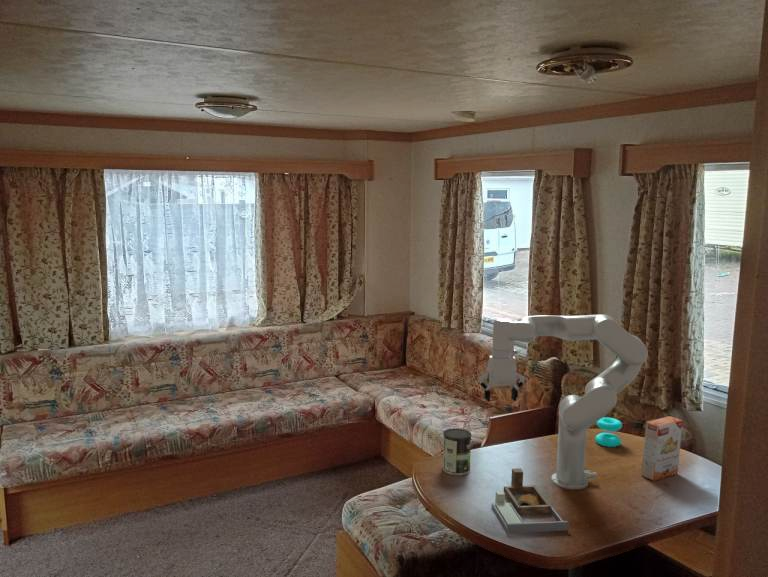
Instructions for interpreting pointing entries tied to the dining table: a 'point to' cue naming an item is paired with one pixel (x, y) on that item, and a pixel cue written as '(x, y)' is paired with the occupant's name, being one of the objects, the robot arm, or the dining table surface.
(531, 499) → the pastry
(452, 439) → the coffee can
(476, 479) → the dining table surface
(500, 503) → the sage strip
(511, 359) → the robot arm
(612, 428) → the donuts
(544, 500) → the frame
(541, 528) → the lane guide
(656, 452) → the cracker box
